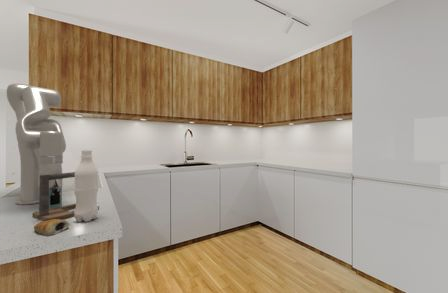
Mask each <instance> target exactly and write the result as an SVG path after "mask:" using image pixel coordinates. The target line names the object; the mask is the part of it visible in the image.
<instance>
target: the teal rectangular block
mask: <svg viewBox="0 0 448 293" xmlns="http://www.w3.org/2000/svg"><path fill="white" fill-rule="evenodd" d="M53 187H55V186H53ZM53 190H55V189H53ZM60 192H61V193H60V203H59V204H55V205H50V195H51V189H49V209H53V208H57V207H62V206H63V205H62V204H63V202H62V201H63V197H62V196H63V188H62V189H61V191H60Z"/></svg>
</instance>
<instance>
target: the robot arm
mask: <svg viewBox="0 0 448 293" xmlns="http://www.w3.org/2000/svg"><path fill="white" fill-rule="evenodd" d="M6 98H7V102H8V103H9V105H10V107H11V108H12V110H13V111H14V113H15V116H16V120H17V121H16V123H15V135H16V139H17V140H16V141H17V146H18V152H19V157H20V158H19V159H20V160H19V161H20V198H19V199H17V200H15V205H21V206H22V205H23V206H24V205H33V204H39V186H40V175H50V174H60V173H63V168H62V166H63V165H62V164H63V163H64V162H63V158H64V157H63V156H64V155H63V154H64V153H65V151H66V149H67V144H66V140H65V137H64V133H63V129H62V126H61V123H60V122H59V121H58V120H56V119H52V118H50V116H51V109H50V107H52V108H53V107H54V108H57V107H60V106H61V104H62V96H61V94H60V92H59V90H58V91H57V90H56V89H51V88H46V87H40V86H34V85H30V84H24V83H11V84H8V85H7V88H6ZM63 179H64V178H62V179H54V180H49V189H51V195H50V205H55V204H59V203H60V193H61V192H60V191H61V189H62V190H63ZM53 186H55V187H53ZM53 189H55V190H53Z"/></svg>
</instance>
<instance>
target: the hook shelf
mask: <svg viewBox="0 0 448 293" xmlns="http://www.w3.org/2000/svg"><path fill="white" fill-rule="evenodd" d="M74 174H75V171H73V172H62V173H60V174H50V175H40V186H39V203H38V204H39V205H38V206H39V208H38V209H39V211H35V212H32V214H31V215H32V218H35V219H37V220H39V221H41V222H44V221H48V220H53V219H60V220H66V219H71V218H75V216H74V211H75V207H76V202H75V203H72V204H67V205H62V207H57V208H53V209H49V180H54V179H62V178H63V179H70V178H75V175H74ZM97 207H98V211H100V205H97ZM70 210H71V211H70Z"/></svg>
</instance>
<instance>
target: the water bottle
mask: <svg viewBox="0 0 448 293" xmlns="http://www.w3.org/2000/svg"><path fill="white" fill-rule="evenodd" d="M80 158H81V159H80V162H79V164H78V166H76V169H75V171H74V172H75V174H74V175H75V177H74V190H73V192H74V195H75V203H76V207H75V209H74V210H73V211H74V219H75V220H76V222H78V223H81V222H82V221H84V222H86V223H87V222H91V221H92V220H95V219H97V217H98V214H99V210H98V207H97V206H98V203H97V201H98V200H97V198H98V192H99V182H98V181H99V171H98V168H97V166H96V165H95V162H93V154H92V150H81V155H80Z"/></svg>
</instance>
